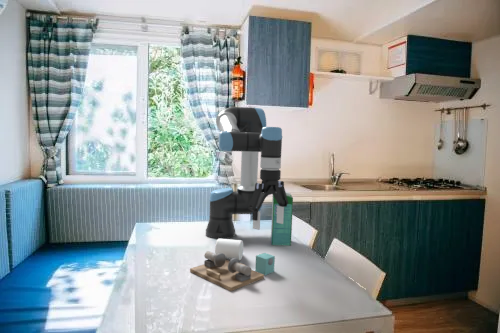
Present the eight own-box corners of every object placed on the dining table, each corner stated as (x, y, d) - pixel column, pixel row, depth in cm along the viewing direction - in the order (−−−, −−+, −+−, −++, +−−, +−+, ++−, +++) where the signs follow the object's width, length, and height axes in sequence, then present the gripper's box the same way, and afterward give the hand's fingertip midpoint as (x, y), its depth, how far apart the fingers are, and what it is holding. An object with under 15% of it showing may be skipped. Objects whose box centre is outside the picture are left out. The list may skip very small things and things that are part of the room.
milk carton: (291, 245, 162) (293, 192, 160) (271, 245, 162) (273, 192, 160) (289, 240, 171) (291, 190, 169) (270, 239, 171) (272, 189, 169)
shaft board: (190, 271, 127) (190, 253, 127) (222, 261, 139) (223, 244, 138) (231, 291, 112) (231, 270, 111) (264, 278, 123) (264, 258, 123)
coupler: (254, 271, 130) (255, 255, 130) (263, 267, 134) (264, 252, 133) (265, 275, 126) (266, 259, 126) (274, 271, 130) (275, 256, 129)
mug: (238, 263, 138) (239, 243, 137) (214, 260, 140) (215, 241, 139) (245, 253, 149) (245, 235, 149) (222, 251, 151) (223, 233, 151)
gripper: (255, 171, 116) (253, 233, 117) (298, 168, 134) (296, 222, 136) (239, 169, 121) (237, 229, 122) (283, 167, 139) (281, 219, 141)
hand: (268, 226), depth 129 cm, fingers open, 13 cm apart
